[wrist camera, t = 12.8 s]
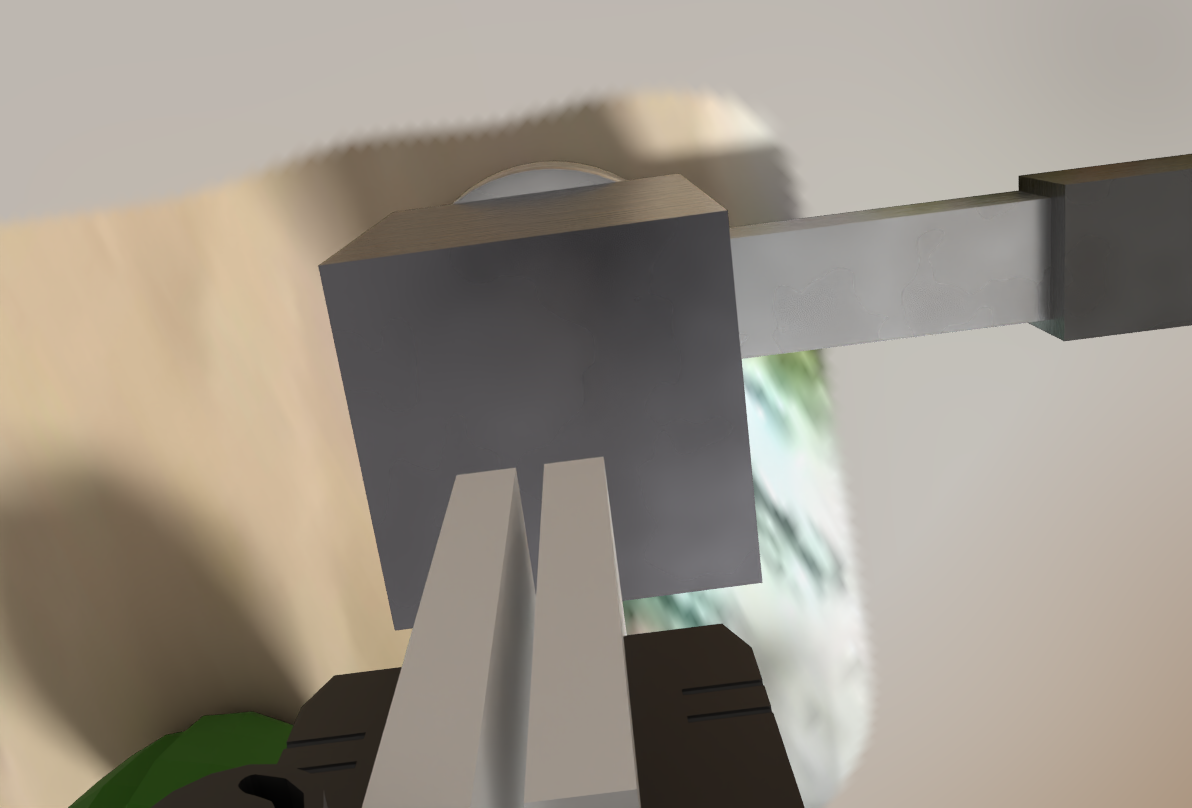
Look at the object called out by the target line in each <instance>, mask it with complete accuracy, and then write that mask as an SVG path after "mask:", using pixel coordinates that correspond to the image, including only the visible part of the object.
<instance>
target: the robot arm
mask: <svg viewBox="0 0 1192 808" xmlns="http://www.w3.org/2000/svg"><path fill="white" fill-rule="evenodd" d="M286 743H287V749H283V751H282V754H281V756H280V758H279V761H278V763H277V764H249V765H245V766H240V767H236V768H232V769H228V770H224V771H220V772H216V773H212V774H209V775H207V776H205V777H203V778H201V779H198V780H196V781H194V782H192V783H190V784H188V785H185V786H183V787H181V788H179V789H177V790H175V791H173V792H171V793H170V794H169V795H167V796H166V797H164V798H163V799H162V800H160V801H159V802H158V803H156V804H155V805H153V806H152V807H151V808H804V805H803V801H802V798H801V795H800V792H799V789H798V786H797V783H796V780H795V777H794V774H793V771H792V768H791V765H790V762H789V759H788V756H787V753H786V750H785V747H784V744H783V741H782V738H781V735H780V732H779V729H778V726H777V723H776V720H775V717H774V714H773V713H772V711H771V705H770V702H769V699H768V696H767V693H766V690H765V687H764V686H763V683H762V678H761V675H760V672H759V669H758V665H757V662H756V659H755V656H754V653H753V650H752V648H751V647H750V646H749V645H748V644H746V643H745V642H744V641H743V640H742V639H740V638H739V637H738V636H737V635H735V634H734V633H733V632H732V631H731V630H729V629H728V628H727V627H726V626H724V625H723V624H715V625H707V626H699V627H691V628H683V629H675V630H667V631H659V632H651V633H643V634H635V635H627V634H626V627H625V619H624V611H623V603H622V596H621V588H620V580H619V572H618V565H617V557H616V549H615V542H614V534H613V526H612V518H611V511H610V503H609V495H608V488H607V480H606V472H605V464H604V457H596V458H588V459H580V460H572V461H564V462H556V463H548V464H544V475H543V491H542V508H541V524H540V541H539V558H538V574H537V591H536V594H535V587H534V581H533V574H532V568H531V562H530V555H529V549H528V542H527V536H526V530H525V523H524V517H523V510H522V504H521V498H520V491H519V485H518V478H517V472H516V468H509V469H501V470H493V471H485V472H477V473H469V474H461V475H456V479H455V482H454V486H453V489H452V493H451V496H450V500H449V503H448V507H447V510H446V514H445V517H444V521H443V524H442V528H441V531H440V535H439V538H438V542H437V545H436V549H435V553H434V556H433V560H432V563H431V567H430V570H429V574H428V577H427V581H426V584H425V588H424V591H423V595H422V598H421V602H420V605H419V609H418V612H417V616H416V619H415V623H414V626H413V630H412V633H411V637H410V640H409V644H408V647H407V651H406V654H405V658H404V661H403V665H402V667H399V668H391V669H383V670H375V671H367V672H359V673H351V674H343V675H335V676H333V677H332V678H331V679H330V680H329V681H328V682H327V683H326V684H325V685H324V686H323V687H322V688H321V689H320V690H319V691H318V692H317V693H316V694H315V695H314V696H313V697H312V698H311V699H310V700H309V701H307V702H306V703H305V704H304V705H303V706H302V707H301V709H300V712H299V714H298V716H297V719H296V721H295V723H294V726H293V728H292V730H291V733H290V735H289V737H288V740H287V742H286Z"/></svg>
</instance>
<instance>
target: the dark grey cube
mask: <svg viewBox="0 0 1192 808" xmlns="http://www.w3.org/2000/svg"><path fill="white" fill-rule="evenodd" d="M318 267H319V271H320V276H321V281H322V286H323V290H324V295H325V300H326V305H327V309H328V314H329V319H330V324H331V328H332V333H333V338H334V343H335V348H336V352H337V357H338V362H339V367H340V371H341V376H342V381H343V386H344V390H345V395H346V400H347V405H348V409H349V414H350V419H351V424H352V429H353V433H354V438H355V443H356V448H357V452H358V457H359V462H360V467H361V471H362V476H363V481H364V486H365V491H366V495H367V500H368V505H369V510H370V514H371V519H372V524H373V529H374V533H375V538H376V543H377V548H378V552H379V557H380V562H381V567H382V572H383V576H384V581H385V586H386V591H387V595H388V600H389V605H390V610H391V614H392V619H393V624H394V629H395V630H403V629H410V628H413V626H414V623H415V619H416V616H417V612H418V609H419V605H420V602H421V598H422V595H423V591H424V588H425V584H426V581H427V577H428V574H429V570H430V567H431V563H432V560H433V556H434V553H435V549H436V545H437V542H438V538H439V535H440V531H441V528H442V524H443V521H444V517H445V514H446V510H447V507H448V503H449V500H450V496H451V493H452V489H453V486H454V482H455V479H456V475H461V474H469V473H477V472H485V471H493V470H501V469H509V468H516V472H517V478H518V485H519V491H520V498H521V504H522V510H523V517H524V523H525V530H526V536H527V542H528V549H529V555H530V562H531V568H532V574H533V581H534V587H535V594H536V591H537V574H538V558H539V541H540V524H541V508H542V491H543V475H544V464H548V463H556V462H564V461H572V460H580V459H588V458H596V457H604V464H605V472H606V480H607V488H608V495H609V503H610V511H611V518H612V526H613V534H614V542H615V549H616V557H617V565H618V572H619V580H620V588H621V596H622V601H625V600H632V599H640V598H648V597H655V596H663V595H671V594H678V593H686V592H694V591H701V590H709V589H717V588H724V587H732V586H740V585H747V584H755V583H762V574H761V564H760V553H759V542H758V531H757V521H756V510H755V499H754V489H753V478H752V467H751V456H750V446H749V435H748V424H747V414H746V403H745V392H744V381H743V371H742V360H741V349H740V338H739V328H738V317H737V306H736V296H735V285H734V274H733V263H732V253H731V242H730V231H729V221H728V210H727V209H725V208H724V207H723V206H721V205H720V204H719V203H717V202H716V201H715V200H713V199H712V198H711V197H710V196H708V195H707V194H706V193H704V192H703V191H702V190H700V189H699V188H698V187H696V186H695V185H694V184H692V183H691V182H690V181H689V180H687V179H686V178H685V177H683V176H682V175H681V174H679V173H678V174H670V175H663V176H655V177H648V178H641V179H633V180H626V181H619V182H611V183H604V184H597V185H589V186H582V187H574V188H567V189H560V190H552V191H545V192H538V193H530V194H523V195H516V196H508V197H501V198H493V199H486V200H479V201H471V202H464V203H457V204H449V205H442V206H435V207H427V208H420V209H412V210H405V211H398V212H393V213H391V214H390V215H389V216H387V217H386V218H384V219H383V220H382V221H380V222H379V223H377V224H376V225H375V226H373V227H372V228H370V229H369V230H368V231H366V232H365V233H363V234H362V235H361V236H359V237H358V238H356V239H355V240H354V241H352V242H351V243H349V244H348V245H347V246H345V247H344V248H342V249H341V250H340V251H338V252H337V253H335V254H334V255H333V256H331V257H330V258H328V259H327V260H326V261H324V262H323V263H321V264H320V265H319V266H318Z"/></svg>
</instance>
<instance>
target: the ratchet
mask: <svg viewBox="0 0 1192 808" xmlns="http://www.w3.org/2000/svg"><path fill="white" fill-rule="evenodd" d="M619 181H626V180H625V179H623V178H621V177H619V176H617V175H615V174H613V173H611V172H608V171H606V170H603V169H600V168H597V167H594V166H590V165H585V164H580V163H575V162H563V161H546V162H534V163H529V164H524V165H519V166H515V167H512V168H509V169H506V170H503V171H501V172H498V173H496V174H494V175H492V176H490V177H488V178H486V179H484V180H482V181H480V182H479V183H477V184H476V185H474V186H473V187H471V188H470V189H469V190H467V191H466V192H464V193H463V194H462V195H461V196H460V197H459V198H458V199H457V200H456V201H455V202H453V203H452V204H457V203H464V202H471V201H479V200H486V199H493V198H501V197H508V196H516V195H523V194H530V193H538V192H545V191H552V190H560V189H567V188H574V187H582V186H589V185H597V184H604V183H611V182H619ZM729 231H730V242H731V253H732V263H733V274H734V285H735V296H736V306H737V317H738V328H739V338H740V349H741V359H743V358H751V357H759V356H767V355H775V354H782V353H790V352H798V351H806V350H814V349H822V348H830V347H837V346H845V345H853V344H862V343H869V342H877V341H885V340H892V339H900V338H908V337H917V336H925V335H933V334H941V333H949V332H957V331H964V330H972V329H980V328H988V327H996V326H1004V325H1012V324H1020V323H1029V324H1031V325H1033V326H1035V327H1037V328H1039V329H1041V330H1043V331H1045V332H1047V333H1049V334H1051V335H1053V336H1055V337H1057V338H1059V339H1061V340H1063V341H1070V340H1078V339H1086V338H1094V337H1102V336H1109V335H1117V334H1125V333H1133V332H1141V331H1149V330H1157V329H1165V328H1173V327H1180V326H1189V325H1192V154H1186V155H1179V156H1171V157H1162V158H1155V159H1147V160H1139V161H1131V162H1124V163H1116V164H1108V165H1100V166H1093V167H1085V168H1076V169H1068V170H1061V171H1053V172H1045V173H1037V174H1029V175H1021V176H1019V191H1012V192H1004V193H996V194H989V195H981V196H973V197H965V198H957V199H950V200H942V201H934V202H926V203H918V204H910V205H902V206H894V207H887V208H879V209H871V210H863V211H855V212H848V213H840V214H832V215H824V216H817V217H808V218H801V219H793V220H785V221H778V222H770V223H762V224H754V225H746V226H738V227H731V228H729Z"/></svg>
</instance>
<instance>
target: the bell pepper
mask: <svg viewBox="0 0 1192 808" xmlns="http://www.w3.org/2000/svg"><path fill="white" fill-rule="evenodd" d="M293 726H294V725H292V724H289V723H286V722H283V721H280V720H277V719H274V718H271V717H268V716H265V715H262V714H259V713H256V712H253V711H251V712H241V713H231V714H220V715H206V716H203V717H202V718H200V719H199V720H198V721H197V722H195V723H194V724H193V725H192V726H191V727H189V728H188V729H187V730H186V731H183V732H178V733H173V734H168V735H165V736H163V737H162V738H160V739H158V740H157V741H155V742H153V743H152V744H150V745H149V746H147V747H145V748H144V749H142V750H140V751H139V752H137V753H136V754H134V755H132V756H131V757H130V758H128V759H127V760H126V761H124V762H123V763H122V764H120V765H119V766H118V767H117V768H115V769H114V770H113V771H111V772H110V773H109V774H107V775H106V776H105V777H103V778H102V779H101V780H100V781H98V782H97V783H96V784H95V785H94V786H92V787H91V788H90V789H89V790H88V791H87V792H86V793H84V794H83V795H82V796H81V797H80V798H79V799H77V800H76V801H75V802H74V803H73V804H72V805H71V806H69V807H68V808H151V807H152V806H153V805H155V804H156V803H158V802H159V801H160V800H162V799H163V798H164V797H166V796H167V795H169V794H170V793H171V792H173V791H175V790H177V789H179V788H181V787H183V786H185V785H188V784H190V783H192V782H194V781H196V780H198V779H201V778H203V777H205V776H207V775H209V774H212V773H216V772H220V771H224V770H228V769H232V768H236V767H240V766H245V765H249V764H277V763H278V761H279V758H280V756H281V754H282V751H283V749H287V743H286V742H287V740H288V737H289V735H290V733H291V730H292V728H293Z"/></svg>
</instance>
